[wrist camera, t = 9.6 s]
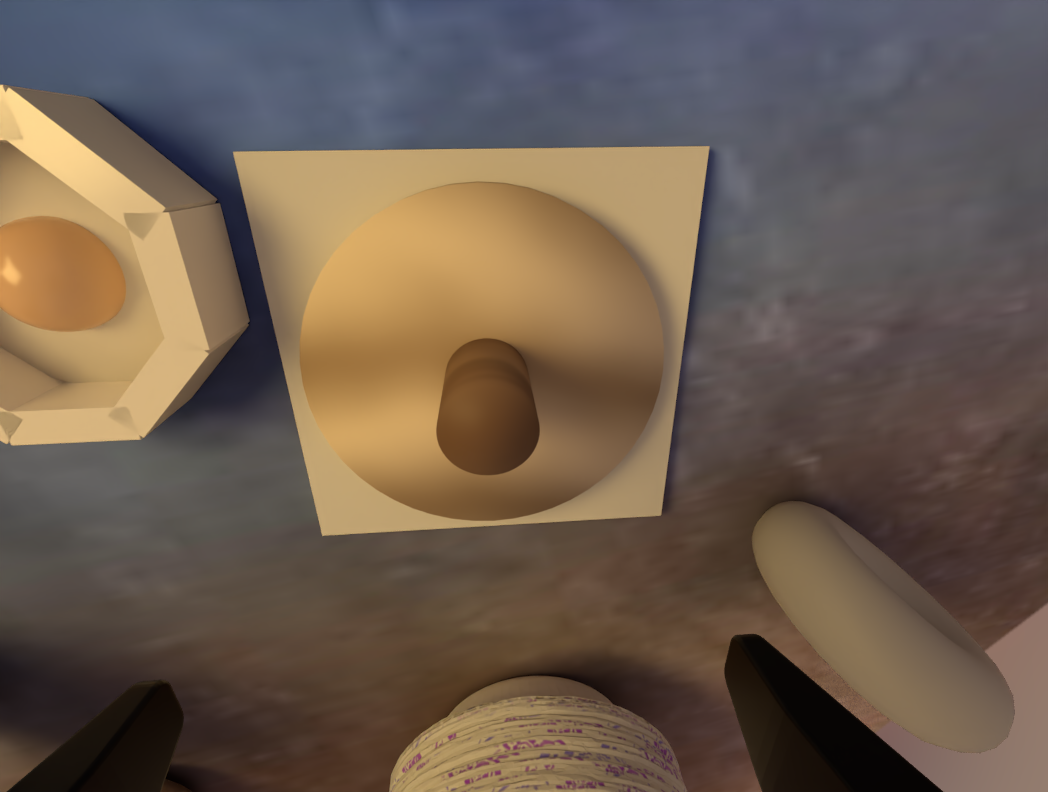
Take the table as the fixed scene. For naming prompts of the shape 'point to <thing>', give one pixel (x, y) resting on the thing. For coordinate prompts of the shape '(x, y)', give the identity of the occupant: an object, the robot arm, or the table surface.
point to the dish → (103, 276)
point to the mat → (391, 175)
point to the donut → (881, 630)
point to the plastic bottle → (173, 787)
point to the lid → (481, 351)
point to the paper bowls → (538, 744)
